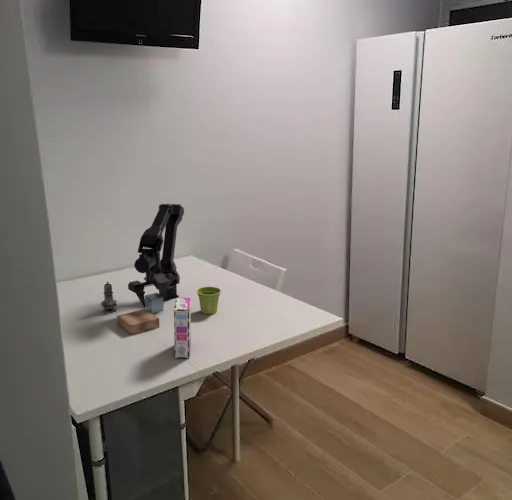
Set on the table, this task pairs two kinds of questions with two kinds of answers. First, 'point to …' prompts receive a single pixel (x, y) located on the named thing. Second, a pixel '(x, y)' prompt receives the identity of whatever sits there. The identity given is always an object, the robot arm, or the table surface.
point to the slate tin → (154, 303)
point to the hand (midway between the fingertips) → (154, 303)
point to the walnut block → (138, 321)
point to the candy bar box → (182, 327)
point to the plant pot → (208, 299)
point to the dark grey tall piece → (108, 299)
